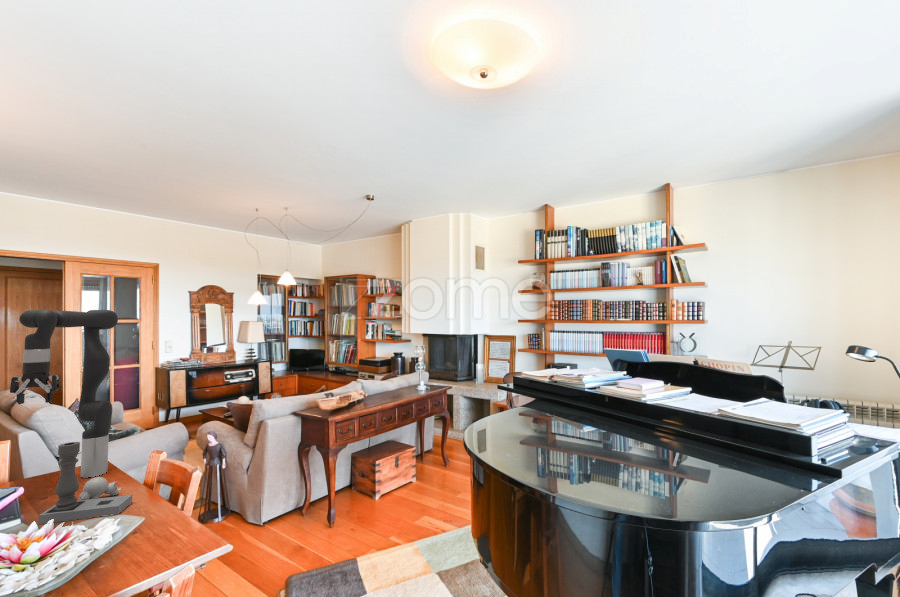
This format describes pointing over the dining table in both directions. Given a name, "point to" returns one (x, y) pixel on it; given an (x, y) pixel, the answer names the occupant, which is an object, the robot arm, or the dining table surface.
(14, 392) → the robot arm
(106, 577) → the dining table surface
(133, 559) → the dining table surface
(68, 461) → the candle holder
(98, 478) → the toy rhinoceros
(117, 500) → the hole board
